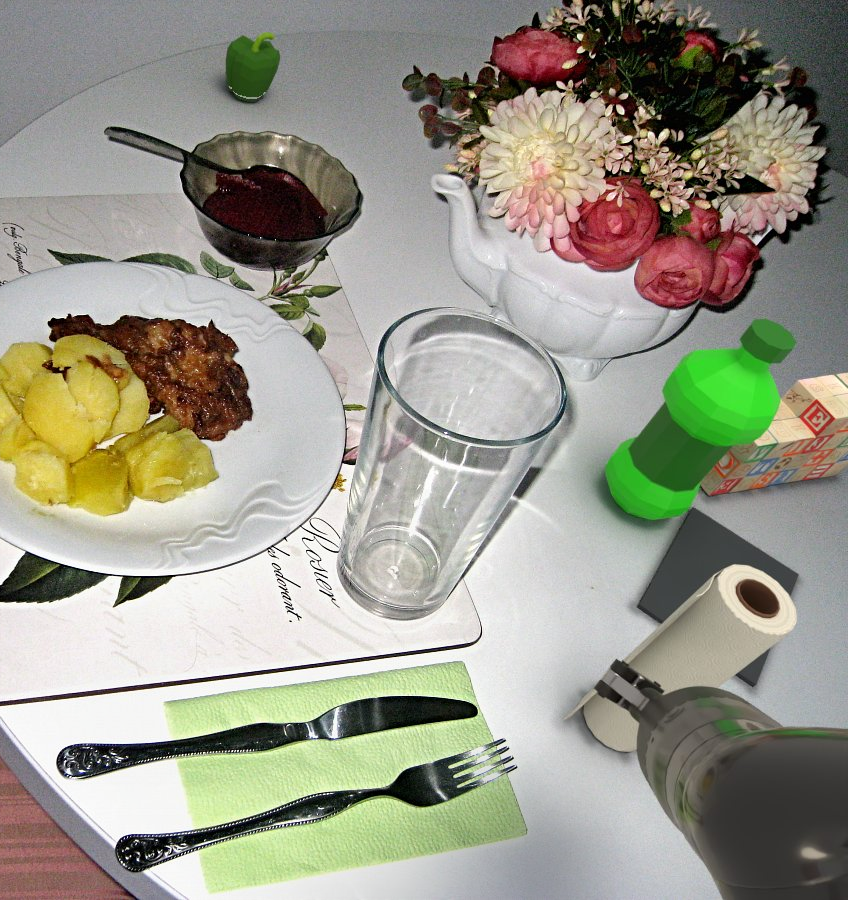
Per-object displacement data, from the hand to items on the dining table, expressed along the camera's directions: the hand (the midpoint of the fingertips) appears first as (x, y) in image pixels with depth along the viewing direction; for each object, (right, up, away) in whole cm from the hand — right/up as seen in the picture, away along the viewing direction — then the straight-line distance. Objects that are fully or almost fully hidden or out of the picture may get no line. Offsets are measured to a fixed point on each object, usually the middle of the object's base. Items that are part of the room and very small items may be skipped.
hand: (668, 711), depth 64 cm
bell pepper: (-31, +76, +80) cm, 115 cm away
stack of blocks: (+32, +17, +45) cm, 57 cm away
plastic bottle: (+13, +13, +37) cm, 41 cm away
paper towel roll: (+2, -6, +17) cm, 18 cm away
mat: (+19, +4, +30) cm, 36 cm away
